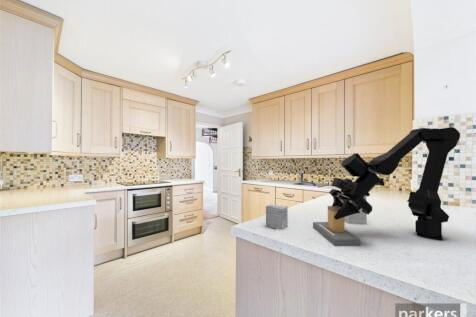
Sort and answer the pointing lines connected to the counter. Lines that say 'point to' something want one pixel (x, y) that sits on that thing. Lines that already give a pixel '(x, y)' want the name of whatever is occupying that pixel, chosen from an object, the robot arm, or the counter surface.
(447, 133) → the robot arm
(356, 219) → the supplement box
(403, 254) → the counter surface
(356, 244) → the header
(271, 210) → the medicine box
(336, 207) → the plug
